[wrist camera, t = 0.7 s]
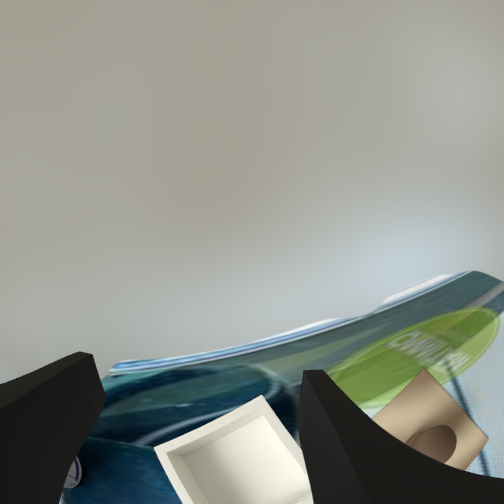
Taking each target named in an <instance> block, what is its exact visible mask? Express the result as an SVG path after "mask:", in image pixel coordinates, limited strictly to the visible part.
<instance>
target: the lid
mask: <svg viewBox="0 0 504 504" xmlns="http://www.w3.org/2000/svg"><path fill="white" fill-rule="evenodd" d="M372 420H373V421H375V422H376V423H377V424H378V425H380V426H381V427H382V428H383V429H385V430H386V431H387V432H389V433H390V434H391V435H393V436H394V437H396V438H397V439H399V440H400V441H402V442H404V443H405V444H407V445H408V446H410V447H412V448H413V449H415V450H417V451H419V452H421V453H423V454H425V455H427V456H429V457H431V458H433V459H435V460H437V461H439V462H442V463H444V464H447V465H449V466H452V467H455V468H458V469H461V470H464V471H465V470H466V469H467V467H468V466H469V465H470V464H471V462H472V461H473V460H474V459H475V457H476V456H477V455H478V453H479V452H480V451H481V449H482V448H483V447H484V445H485V444H486V442H487V441H488V438H487V437H486V436H485V435H484V434H483V433H482V431H481V430H480V429H479V428H478V427H477V426H476V425H475V423H474V422H473V421H472V420H471V419H470V418H469V417H468V416H467V414H466V413H465V412H464V411H463V410H462V409H461V408H460V407H459V406H458V404H457V403H456V402H455V401H454V400H453V399H452V398H451V397H450V396H449V395H448V394H447V392H446V391H445V390H444V389H443V388H442V387H441V386H440V385H439V384H438V383H437V382H436V381H435V380H434V379H433V378H432V376H431V375H430V374H429V373H428V372H427V371H426V370H425V369H423V370H422V371H421V372H420V373H419V374H418V375H417V376H416V377H415V378H414V379H413V380H412V381H411V383H410V384H409V385H408V386H407V387H406V388H405V389H403V390H402V391H401V392H400V393H399V394H398V395H397V396H396V397H395V398H394V399H393V400H392V401H391V402H390V403H389V404H388V405H386V406H385V407H384V408H383V409H382V410H381V411H380V412H379V413H377V414H376V415H375V416H374V417H373V418H372Z"/></svg>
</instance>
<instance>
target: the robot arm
mask: <svg viewBox="0 0 504 504" xmlns="http://www.w3.org/2000/svg"><path fill="white" fill-rule="evenodd" d="M105 399H106V395H105V392H104V389H103V386H102V383H101V380H100V377H99V374H98V371H97V368H96V365H95V361H94V358H93V355H92V354H89V353H84V352H77V353H74V354H71V355H68V356H66V357H64V358H62V359H60V360H57V361H55V362H53V363H51V364H48V365H46V366H44V367H42V368H40V369H38V370H35V371H33V372H31V373H28V374H26V375H23V376H21V377H19V378H16V379H14V380H11V381H8V382H6V383H3V384H0V504H59V501H60V497H61V494H62V490H63V487H64V484H65V481H66V478H67V475H68V473H69V470H70V467H71V465H72V463H73V461H74V459H75V457H76V456H77V454H78V452H79V450H80V449H81V447H82V445H83V443H84V442H85V440H86V438H87V437H88V435H89V433H90V431H91V430H92V428H93V426H94V424H95V423H96V421H97V419H98V417H99V415H100V412H101V410H102V407H103V405H104V402H105ZM297 419H298V430H299V440H300V444H301V449H302V453H303V458H304V462H305V466H306V470H307V475H308V479H309V483H310V488H311V492H312V497H313V503H314V504H504V479H503V478H496V477H490V476H484V475H479V474H475V473H471V472H467V471H464V470H461V469H458V468H455V467H452V466H449V465H447V464H444V463H442V462H439V461H437V460H435V459H433V458H431V457H429V456H427V455H425V454H423V453H421V452H419V451H417V450H415V449H413V448H412V447H410V446H408V445H407V444H405V443H404V442H402V441H400V440H399V439H397V438H396V437H394V436H393V435H391V434H390V433H389V432H387V431H386V430H385V429H383V428H382V427H381V426H380V425H378V424H377V423H376V422H375V421H373V420H372V419H371V418H370V417H369V416H368V415H367V414H365V413H364V412H363V411H362V410H361V409H360V408H359V407H358V406H357V405H356V404H355V403H354V402H353V401H352V400H351V399H350V398H349V397H348V396H347V395H346V394H345V393H344V392H343V391H342V390H341V389H340V388H339V387H338V386H337V385H336V383H335V382H334V381H333V380H332V379H331V378H330V377H329V376H328V375H327V374H326V373H325V371H323V370H304V371H303V378H302V385H301V392H300V399H299V406H298V412H297Z"/></svg>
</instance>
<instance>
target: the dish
mask: <svg viewBox="0 0 504 504" xmlns="http://www.w3.org/2000/svg"><path fill="white" fill-rule="evenodd" d="M154 449H155V451H156V454H157V456H158V458H159V460H160V462H161V464H162V466H163V468H164V470H165V472H166V474H167V476H168V478H169V480H170V481H171V483H172V485H173V487H174V489H175V491H176V492H177V494H178V496H179V498H180V499H181V501H182V503H183V504H314V503H313V497H312V492H311V488H310V483H309V479H308V475H307V470H306V466H305V462H304V458H303V453H302V450H301V448H300V447H299V446H298V444H297V443H296V442H295V441H294V439H293V438H292V437H291V435H290V434H289V432H288V431H287V430H286V428H285V427H284V426H283V424H282V423H281V422H280V420H279V419H278V417H277V416H276V415H275V413H274V412H273V410H272V409H271V407H270V406H269V405H268V403H267V402H266V400H265V399H264V397H263V396H262V395H260V396H259V397H257V398H255V399H253V400H252V401H250V402H248V403H246V404H244V405H243V406H241V407H239V408H237V409H235V410H233V411H232V412H230V413H228V414H226V415H224V416H222V417H220V418H218V419H216V420H214V421H212V422H210V423H208V424H206V425H204V426H202V427H200V428H198V429H196V430H193V431H191V432H189V433H187V434H185V435H182V436H180V437H178V438H176V439H173V440H171V441H169V442H166V443H164V444H161V445H159V446H156V447H154Z"/></svg>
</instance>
